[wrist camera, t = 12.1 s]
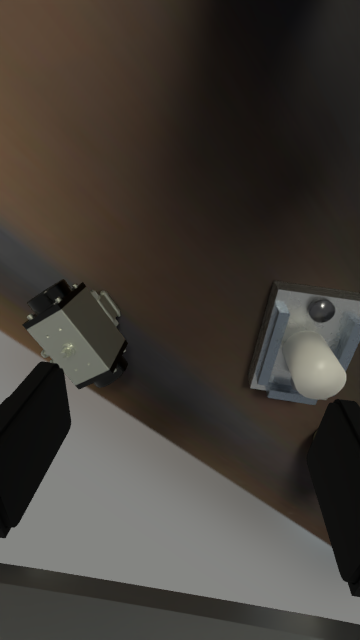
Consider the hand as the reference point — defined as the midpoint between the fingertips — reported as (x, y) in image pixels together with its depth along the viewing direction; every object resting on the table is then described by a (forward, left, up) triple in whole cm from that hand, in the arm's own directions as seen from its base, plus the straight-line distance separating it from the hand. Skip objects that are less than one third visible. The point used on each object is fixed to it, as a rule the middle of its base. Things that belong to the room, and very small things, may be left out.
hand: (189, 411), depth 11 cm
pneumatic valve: (+10, -12, -27) cm, 31 cm away
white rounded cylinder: (+10, +13, -24) cm, 29 cm away
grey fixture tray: (+10, +14, -27) cm, 32 cm away
